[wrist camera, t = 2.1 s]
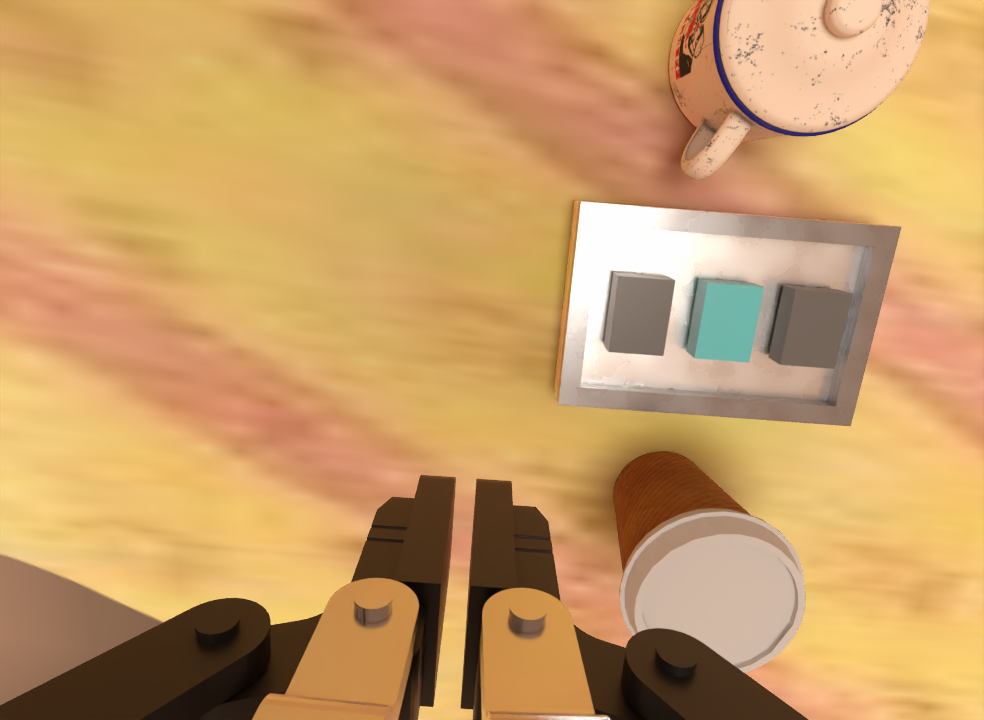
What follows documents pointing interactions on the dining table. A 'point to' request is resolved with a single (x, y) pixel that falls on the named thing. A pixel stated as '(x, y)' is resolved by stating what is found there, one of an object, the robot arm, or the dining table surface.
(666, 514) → the disposable coffee cup
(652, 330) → the grey rectangular prism
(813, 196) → the dining table surface
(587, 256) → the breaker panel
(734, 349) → the teal rectangular box
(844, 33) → the teacup with lid
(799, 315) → the dark taupe block
